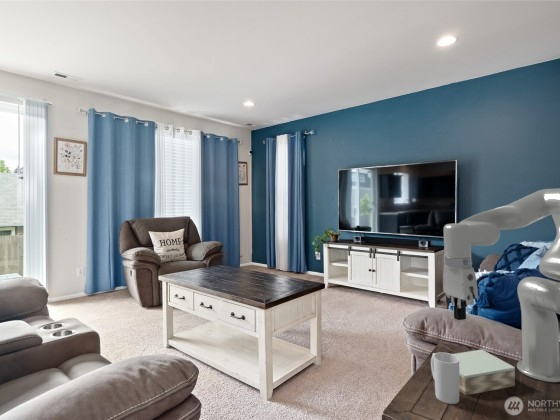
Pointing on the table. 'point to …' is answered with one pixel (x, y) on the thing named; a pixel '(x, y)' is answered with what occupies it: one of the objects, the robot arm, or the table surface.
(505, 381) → the beige box
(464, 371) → the lid
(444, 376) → the mug
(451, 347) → the table surface
